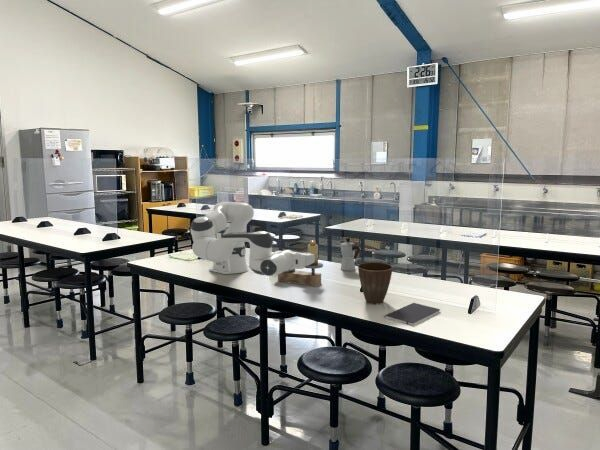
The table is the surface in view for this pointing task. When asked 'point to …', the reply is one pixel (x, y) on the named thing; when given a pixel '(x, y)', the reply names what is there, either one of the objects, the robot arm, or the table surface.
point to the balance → (302, 276)
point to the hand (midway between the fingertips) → (301, 253)
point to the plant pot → (375, 281)
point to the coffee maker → (348, 255)
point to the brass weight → (313, 251)
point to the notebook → (412, 313)
